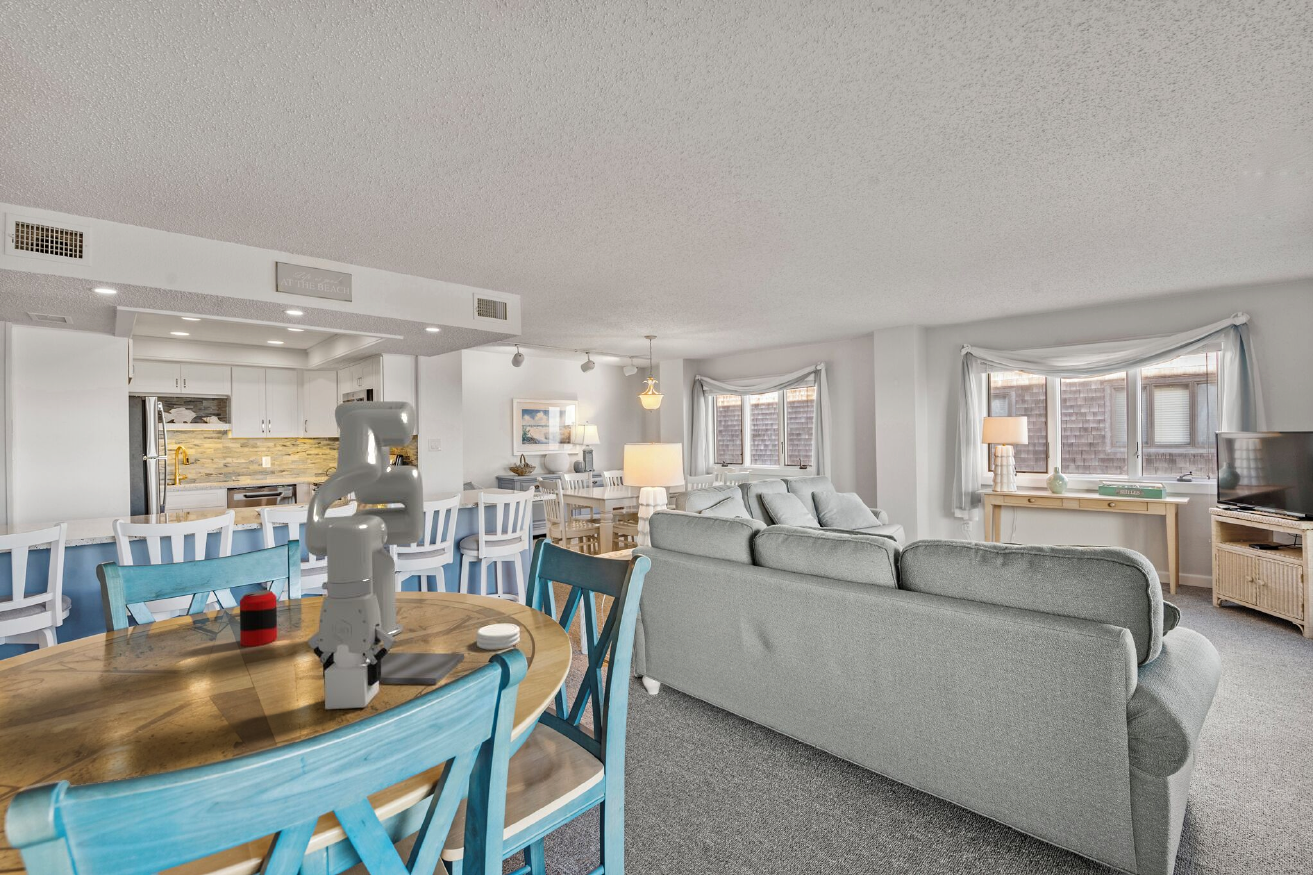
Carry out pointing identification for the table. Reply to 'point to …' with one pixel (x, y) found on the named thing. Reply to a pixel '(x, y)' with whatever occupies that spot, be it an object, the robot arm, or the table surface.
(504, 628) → the coaster
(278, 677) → the table surface
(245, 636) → the soda can
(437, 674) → the charcoal board
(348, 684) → the medicine bottle
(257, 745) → the table surface
